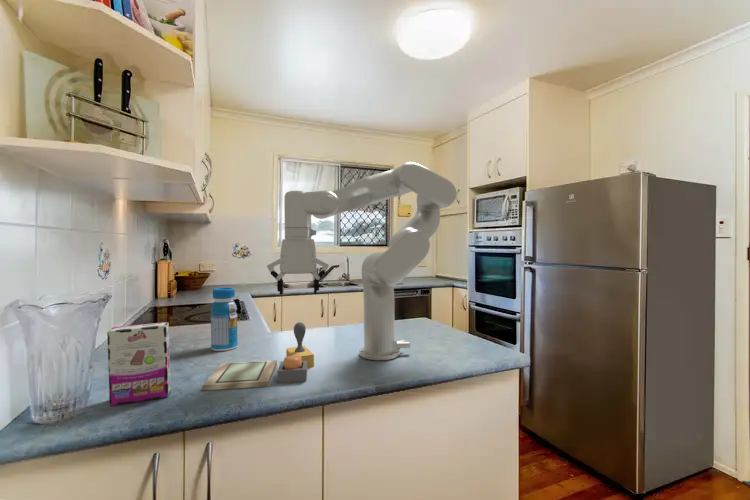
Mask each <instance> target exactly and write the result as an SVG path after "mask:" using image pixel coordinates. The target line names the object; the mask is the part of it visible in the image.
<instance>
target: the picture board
mask: <svg viewBox="0 0 750 500" xmlns="http://www.w3.org/2000/svg"><path fill="white" fill-rule="evenodd" d="M277 365H278V360H277V359H275V360H273V359H272V360H260V361H259V360H258V361H257V360H256V361H240V362H239V361H237V362H224V363H221V364H220V365H219V366H218V367H217V368H216V370H214V372H213V373H212V374H211V375H210V376H209V378H208V379H207V380H206V381H205V382H204V383H203V384H202V391H212V390H227V389H229V390H231V389H244V388H246V389H247V388H261V387H269V385H270V382H271V380H272V377H273V375H274V374H275V373H274V372H275V370H276V368H277Z"/></svg>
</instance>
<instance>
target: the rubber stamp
mask: <svg viewBox="0 0 750 500" xmlns="http://www.w3.org/2000/svg"><path fill="white" fill-rule="evenodd" d="M306 330H307V329H306V325H305V324H304V323H303V322H300V321H299V322H296V323H295V324H294V325H293V333H294V336H295V340H296V342H297V346H292V347H287V348H286V350H285V351H286V352H285V353H286V355H285V357H287V356H292V355H298V356H301V357H302V361H307V369H310V368H314V367H315V355H314V354H315V353H313V352H312V351H310V349H309V348H308V347H307V346H305V345H303V341H304V338H305V336H306V335H305V334H306V332H307V331H306Z"/></svg>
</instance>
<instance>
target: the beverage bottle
mask: <svg viewBox="0 0 750 500" xmlns="http://www.w3.org/2000/svg"><path fill="white" fill-rule="evenodd" d="M235 291H236V290H235V288H234V287H217V288H213V290H212V300H214V302H213V303H212V305H211V307H210V313H211V315H210V318H209V319H210V334H211V335H210V337H211V338H210V339H211V343H210V346H211V350H212V351H216V352H225V351H231V350H234V349H236V348H238V346H239V345H238V344H239V343H238V315H239V314H238V312H237V310H238V306H237V304H236V302H235V300H234V298H235Z"/></svg>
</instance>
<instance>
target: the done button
mask: <svg viewBox="0 0 750 500" xmlns="http://www.w3.org/2000/svg"><path fill="white" fill-rule="evenodd" d="M283 362H284V369H301V368H302V357H301V356H298V355H292V356H287V357H286V356H285V357H284V360H283Z"/></svg>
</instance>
